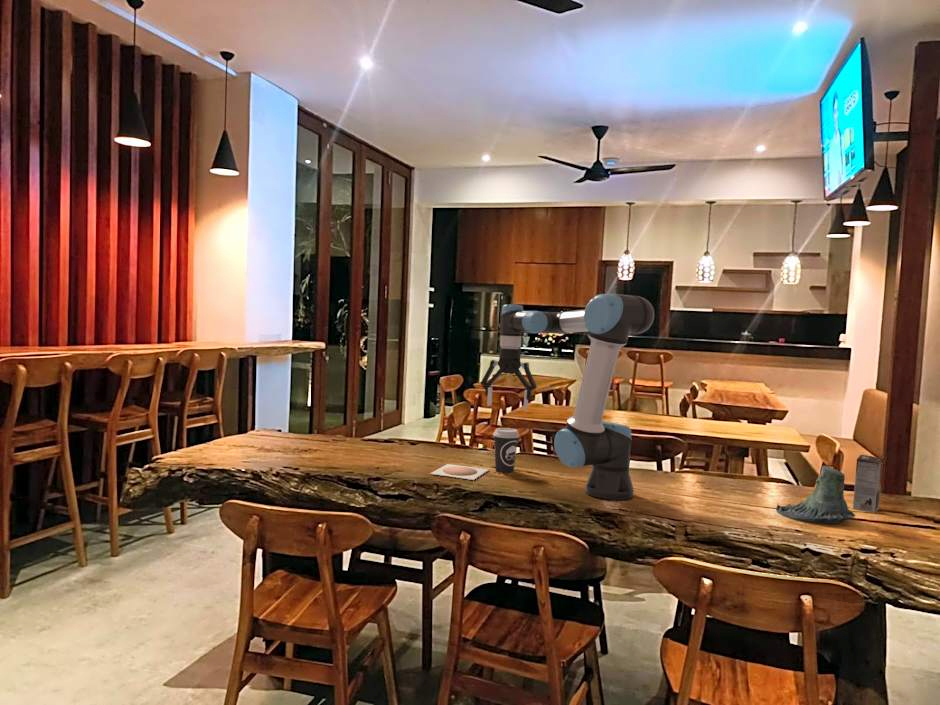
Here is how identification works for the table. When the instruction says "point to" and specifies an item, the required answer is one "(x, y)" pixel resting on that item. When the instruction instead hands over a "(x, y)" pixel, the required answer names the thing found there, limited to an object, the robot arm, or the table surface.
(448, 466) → the coaster mat
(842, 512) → the tree stump
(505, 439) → the coffee cup
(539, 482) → the table surface
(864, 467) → the coffee box
